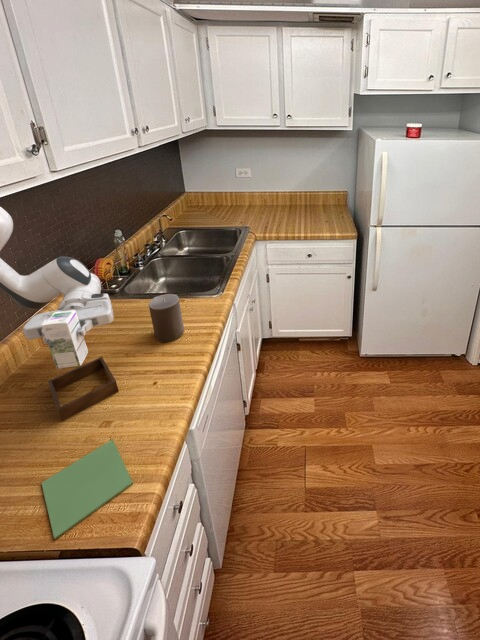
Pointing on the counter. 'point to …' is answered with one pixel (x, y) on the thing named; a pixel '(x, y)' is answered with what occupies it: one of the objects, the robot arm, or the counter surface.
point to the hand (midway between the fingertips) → (64, 337)
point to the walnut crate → (88, 398)
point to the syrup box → (64, 339)
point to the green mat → (84, 487)
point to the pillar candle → (166, 317)
